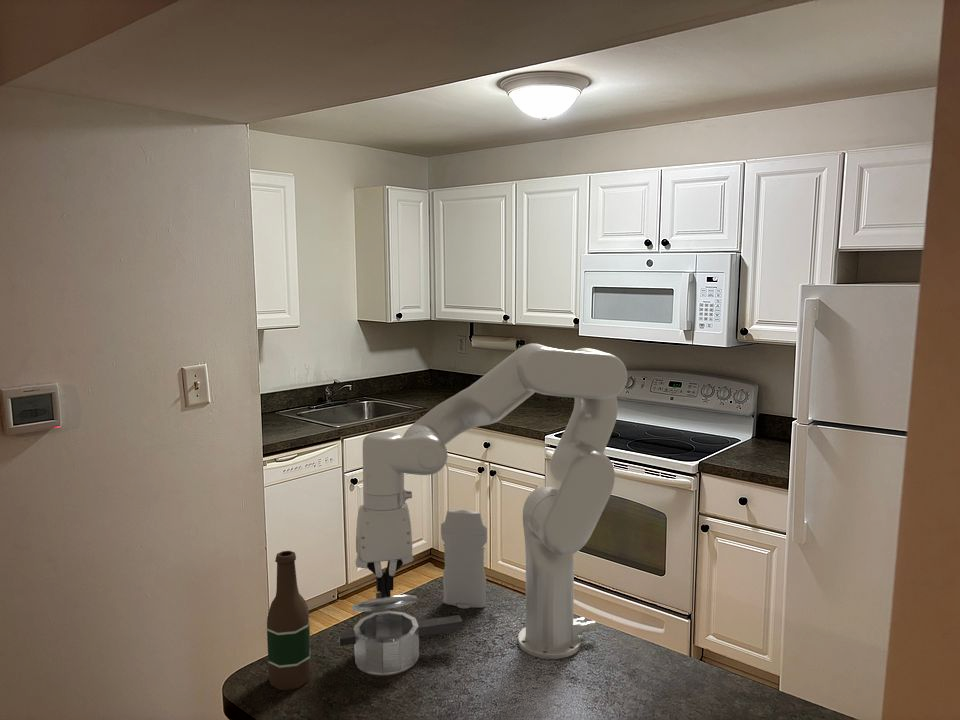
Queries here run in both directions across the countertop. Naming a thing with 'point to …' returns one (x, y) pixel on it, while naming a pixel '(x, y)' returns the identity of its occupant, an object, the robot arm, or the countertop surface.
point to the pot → (392, 640)
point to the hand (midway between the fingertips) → (384, 594)
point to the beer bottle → (288, 629)
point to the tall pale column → (464, 559)
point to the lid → (384, 603)
